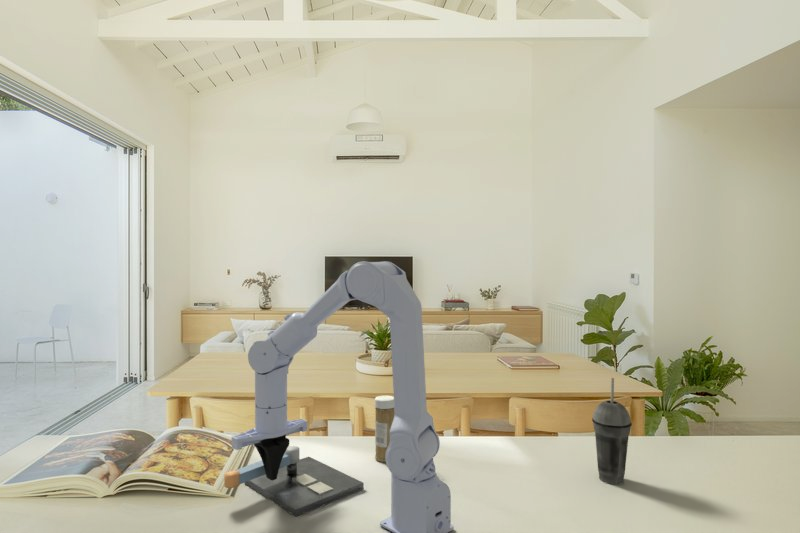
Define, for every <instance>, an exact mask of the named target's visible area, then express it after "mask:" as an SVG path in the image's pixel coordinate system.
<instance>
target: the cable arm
mask: <svg viewBox="0 0 800 533" xmlns="http://www.w3.org/2000/svg"><path fill="white" fill-rule="evenodd" d="M299 460H300V447H299V446H295V445H292V446H290V445H289V446H288V448H287V449H286V451H285V453H284V456H283V458H282V461H281V464H280V467H279V469H280V468H283V467H285V466H288V465H290V464H295V463H298V462H299ZM265 474H266V472H265V468H264V465H263V462H262V460H259V461H257V462H253V463H251V464H248V465H246V466H243V467H240V468H238V469H233V470H229V471H226V472H225V473H224V480H223V482H224V488H226V489H233V488H234V489H235V488H238V487H239V486H240V485H241V484H245V482H247V481H250V480H252V479H255V478H257V477H260V476H262V475H265Z"/></svg>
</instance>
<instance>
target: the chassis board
mask: <svg viewBox="0 0 800 533" xmlns="http://www.w3.org/2000/svg"><path fill="white" fill-rule="evenodd" d="M244 484H245V485H246V486H248V487H250V488H251V489H252V490H254V491H255V492H257V493H259V494H261V495H262V496H263V497H264V498H266V499H268V500H270V501H271V502H272V503H273V504H276V505H278V506H279V507H280V508H282V509H283V510H285V511H287V512H288V513H289V514H291V515H293V516H294V517H299V516H301V515H304V514H306V513H309V512H311V511H314V510H315V509H318V508H320V507H323V506H326V505H328V504H330V503H332V502H335V501H337V500H340V499H343V498H346V497H348V496H350V495H352V494H354V493H357V492H360V491H362V490H364V482H363V481H361V480H358V478H357V479H356V478H354V477H352V476H351V475H348V474H346V473H344V472H342V471H340V470H338V469H336V468H334V467H331V466H329V465H327V463H326V464H325V463H323V462H322V461H319V460H317V459H315V458H313V457H310V456H306V457H303V458H299V462H298V463H295V464H290V465H288V466H285V467H283V468H280V469H279V471H278V475H277V479H275V480H270V479H268V478H267V477H266V474H265V475H262V476H260V477H257V478H255V479H252V480H250V481H247V482H245V483H244Z"/></svg>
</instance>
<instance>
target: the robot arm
mask: <svg viewBox="0 0 800 533" xmlns="http://www.w3.org/2000/svg"><path fill="white" fill-rule="evenodd" d="M355 300H358V301H361V302H363V303H366V304H369V305H371V306H373V307H375V308H376V309H378V310H379V311H380V312H381V313H382V314H383V315H385V316H386V317H387V318H388V319H389V329H390V333H389V334H390V348H391V349H390V350H391V369H392V391H393V397H394V411H395V416H394V419H393V423H392V426H391V429H390V442H389V445H388V448H387V450H386V453H385V460H386V462H385V465H386V468H388V470H389V472H390V474H391V475H390V476H391V480H390V481H391V482H390V484H391V485H390V486H391V488H390V489H391V490H390V491H391V492H390V493H391V494H390V495H391V496H390V497H391V498H390V499H391V500H390V502H391V503H390V505H391V506H390V509H391V510H390V512H391V513H390V514H391V515H390V516H389V517H388V518H385V519H383V520H381V521H380V522H379V525H380V527H383V528H385V529H386V530H388V531H390V532H392V533H450V532H451V531H453V530H454V529H455V528H454V525H453V524H451V520H452V518H451V514H452V512H451V510H452V508H451V506H452V504H451V502H452V501H451V498H452V495H451V489H450V486H449V485H448V484H447V483H445V482H444V481H443V480H441V479H440V477H439V476H438V475H437V473H436V465H435V462H434V458H435V457H436V455H437V454H438V453H439V451H440V446H441V445H440V444H441V443H440V437H439V435H438V433H437V431H436V429H435V426H434V417H433V416H432V415H431V414H430V413H429V412H428V411H427V410H428V409H427V406H428V405H427V389H426V388H427V386H426V370H425V368H426V366H425V352H424V351H425V350H424V332H423V328H424V327H423V312H422V311H423V310H422V304H421V301H420V299H419V297H418V296H417V294H416V293H415V290H414V289H413V287H412V285H411V284H410V282H409V280H408V279H407V275H406V271H404V270H403V269H402V268H400V267H399V266H398V265H396V264H395V263H393V262H391V261H386V260H383V261H365V260H364V261H358V262H357V263H354V264H353V265H352V266H351V267H349V269H348V270H345V271H344V272H343V273H341V274H340V275H339V277H338V278H337V279H336V281H335V282H334V283H333V284H331V286H330V287H328V289H327V290H326V291H324V293H323V294H322V295H321V296H319V298H318V299H317V300H315V301H314V303H313V304H312V305H311V306H310V307H308V308H307V309H306V311H305V312H301V311H297V312H294V313H288V314H286V315H285V316H284V317H283V319H284V320H285V321H284V322H283V323H281V324H280V325H279V326H278V327H277V328H276V329H274V330H273V329H272V330H270V331H269V332H268V333H267V338H266V339H260V340H256V341H254V342H253V343H252V345H251V346H250V348H249V350H248V353H247V360H248V364H249V366H250V367H251V369H252V370H253V371H254V415H255V416H254V424H255V425H254V428H251V429H249V430H246V431H244V432H241V433H239V434H237V435H233V436H231V448H232V449H234V450H235V451H239V450H242V449H243V448H245V447H250V446H253V445H254V447H255V449H256V450H257V452H258V454H259V456H260V459H261V461H262V462H263V465H264V468H265V472H266V477H267V478H268V479H270V480H275V479H277V475H278V471H279V467H280V464H281V461H282V458H283V456H284V453H285V451H286V449H287V448H288V447H290V439H289V438H287V436H288V435H293V434H296V433H299V432H302V433H304V432H308V420H307V419H304V418H299V419H292V420H288V374H289V367H290V365H291V363H292V362H293V360H294V357H295V355H296V354H298V353H299V352H300V351H301V350H303V348H305V346H307V345H308V344H309V343H311V342H312V341H313V340H314V339H315V338H316V337H317V335H318V327H319V325H321V324H322V323H323V322H325V321H326V320H327V319H329V318H330V317H331V316H332V315H334V314H335V313H336V312H337V311H339V310H340V309H341V308H342V307H344V306H345V305H346V304H348V303H349V302H350V301H355Z"/></svg>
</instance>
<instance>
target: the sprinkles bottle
mask: <svg viewBox="0 0 800 533" xmlns="http://www.w3.org/2000/svg"><path fill="white" fill-rule="evenodd" d="M374 407H375V408H374V409H375V411H374V412H375V414H374V415H375V419H374V420H375V422H374V423H375V425H374V426H375V427H374V436H375V437H374V444H375V455H374V459H375V460H376V461H377V462H380V463H381V462H382V463H386V460H385V453H386V450H387V448H388V445H389V442H390V429H391V426H392V423H393V419H394V416H395V411H394V395H387V394H386V395H377V396H375V398H374Z"/></svg>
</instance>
